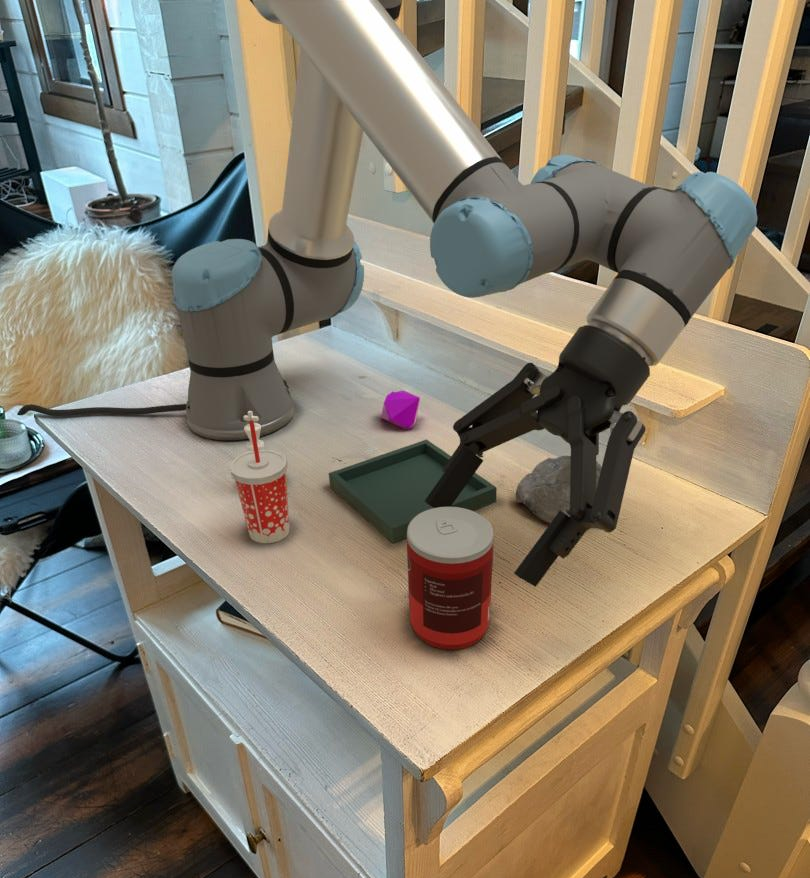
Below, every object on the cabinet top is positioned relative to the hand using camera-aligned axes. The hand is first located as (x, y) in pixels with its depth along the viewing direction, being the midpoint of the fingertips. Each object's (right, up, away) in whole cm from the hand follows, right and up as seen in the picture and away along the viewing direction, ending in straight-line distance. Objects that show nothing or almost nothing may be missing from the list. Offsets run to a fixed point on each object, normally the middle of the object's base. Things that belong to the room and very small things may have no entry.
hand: (476, 542), depth 69 cm
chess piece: (-24, +7, +26) cm, 36 cm away
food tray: (-6, +6, +23) cm, 24 cm away
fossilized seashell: (+13, +4, +20) cm, 24 cm away
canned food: (-2, -8, +4) cm, 9 cm away
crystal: (-7, +17, +38) cm, 42 cm away
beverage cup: (-22, +1, +17) cm, 28 cm away
